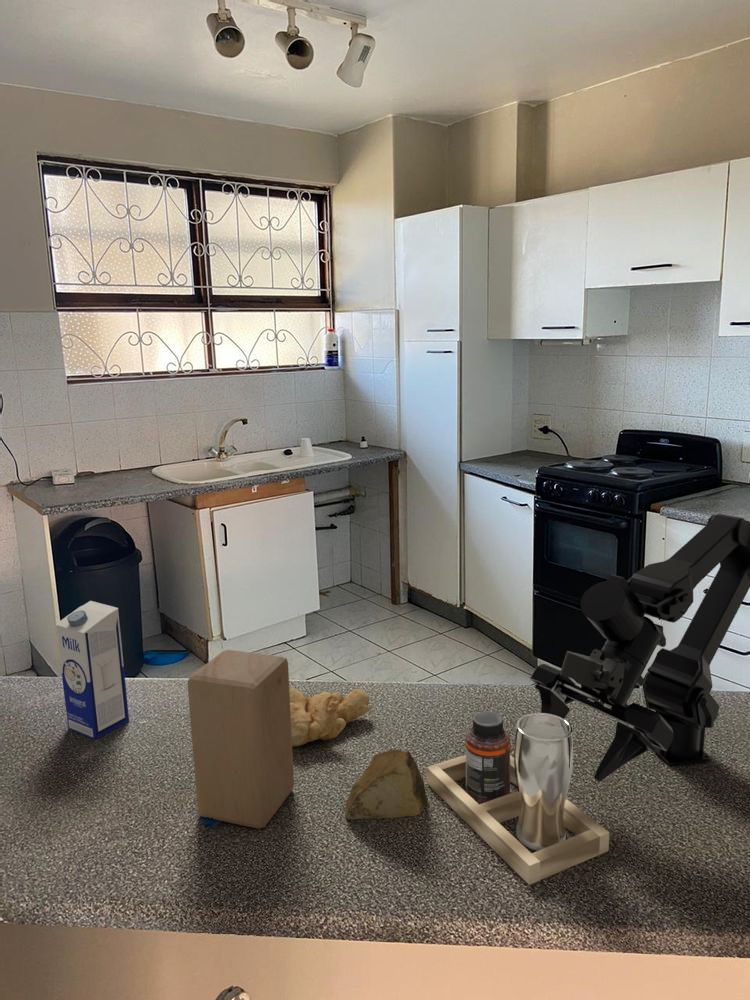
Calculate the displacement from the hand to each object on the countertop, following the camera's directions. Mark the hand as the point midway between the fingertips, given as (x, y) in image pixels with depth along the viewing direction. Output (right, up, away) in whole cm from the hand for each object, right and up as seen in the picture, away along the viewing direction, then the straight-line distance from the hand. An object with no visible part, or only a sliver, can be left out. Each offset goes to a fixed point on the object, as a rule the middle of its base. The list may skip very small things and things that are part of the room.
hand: (566, 763), depth 94 cm
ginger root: (-34, -4, +25) cm, 42 cm away
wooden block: (-41, -8, +7) cm, 43 cm away
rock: (-23, -8, +5) cm, 25 cm away
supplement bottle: (-9, -7, +8) cm, 14 cm away
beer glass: (-3, -9, -1) cm, 10 cm away
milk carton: (-69, -4, +28) cm, 75 cm away
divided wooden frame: (-6, -8, +3) cm, 11 cm away
